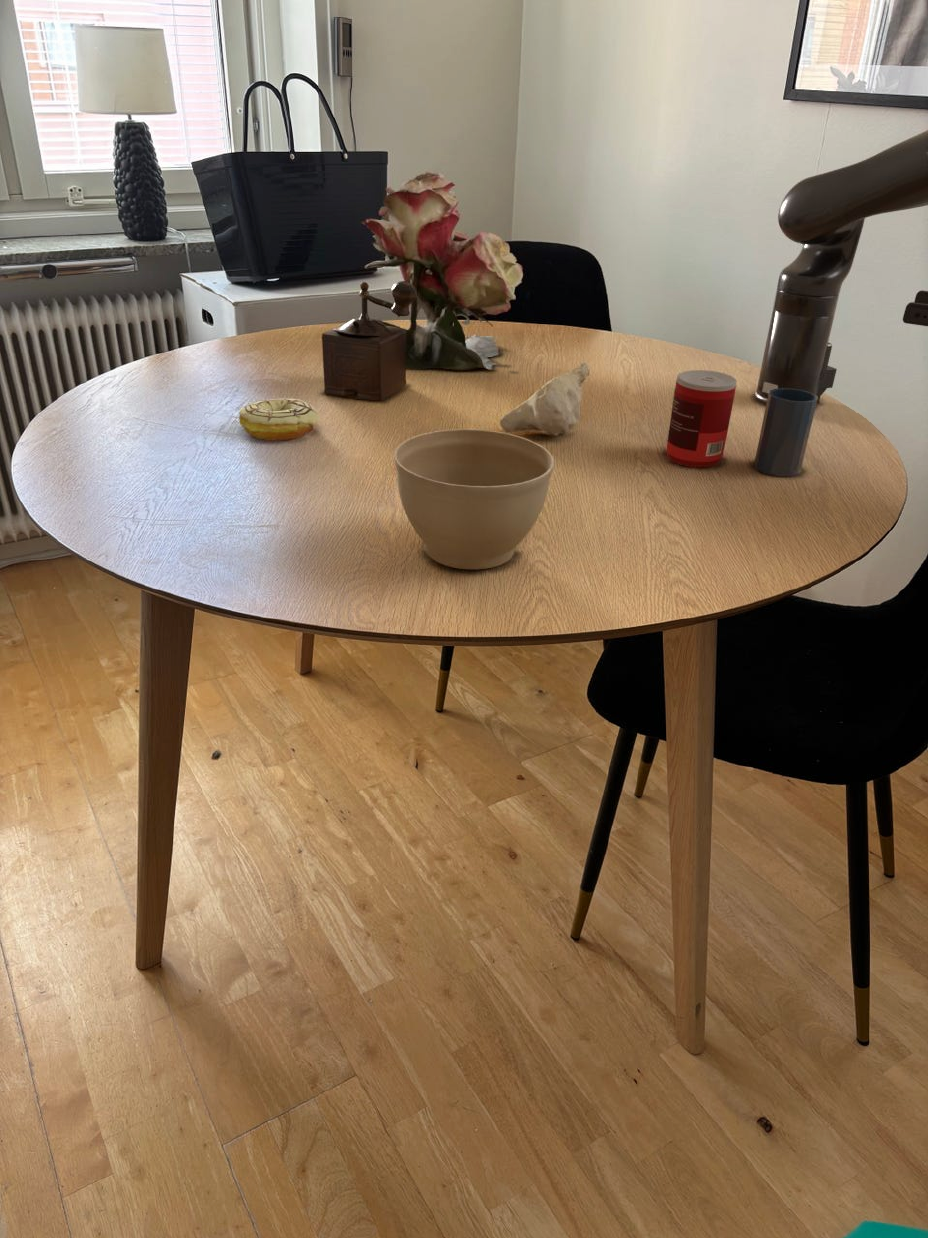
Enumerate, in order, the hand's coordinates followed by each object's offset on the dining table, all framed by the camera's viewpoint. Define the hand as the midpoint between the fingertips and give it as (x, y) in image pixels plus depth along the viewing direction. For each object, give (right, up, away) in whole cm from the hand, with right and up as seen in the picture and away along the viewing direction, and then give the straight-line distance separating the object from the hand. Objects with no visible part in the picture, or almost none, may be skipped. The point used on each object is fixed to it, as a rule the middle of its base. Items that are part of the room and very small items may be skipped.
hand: (909, 305), depth 105 cm
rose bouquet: (-57, +13, +63) cm, 86 cm away
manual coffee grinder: (-66, 0, +40) cm, 77 cm away
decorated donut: (-78, -10, +23) cm, 82 cm away
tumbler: (-10, -16, +16) cm, 25 cm away
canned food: (-21, -15, +18) cm, 31 cm away
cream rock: (-39, -8, +28) cm, 49 cm away
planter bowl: (-51, -29, -8) cm, 60 cm away
